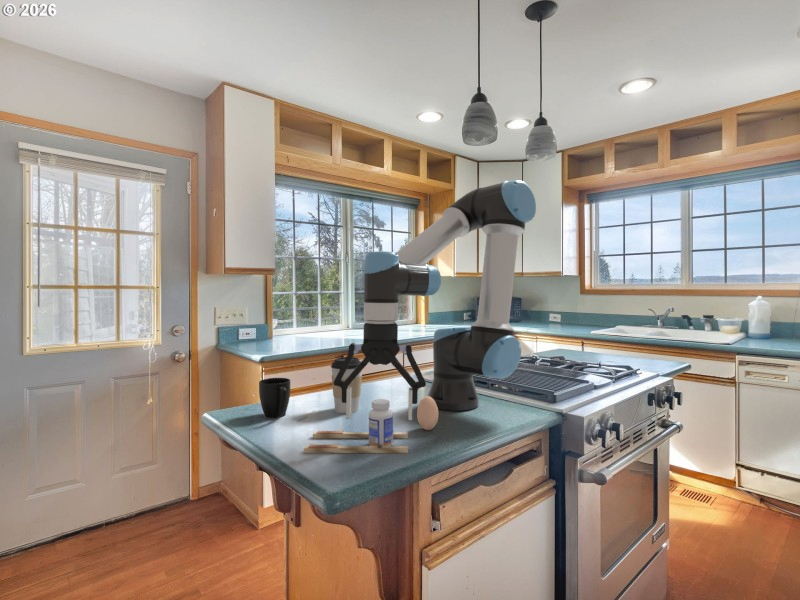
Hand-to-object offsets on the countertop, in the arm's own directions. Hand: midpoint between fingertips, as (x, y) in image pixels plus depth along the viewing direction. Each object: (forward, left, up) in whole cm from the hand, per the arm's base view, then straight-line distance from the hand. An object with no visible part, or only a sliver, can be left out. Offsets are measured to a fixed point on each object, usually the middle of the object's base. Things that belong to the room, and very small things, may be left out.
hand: (379, 418), depth 95 cm
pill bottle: (0, 0, -6) cm, 6 cm away
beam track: (+5, 0, -6) cm, 8 cm away
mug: (+29, -20, -6) cm, 36 cm away
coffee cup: (+11, -27, -6) cm, 30 cm away
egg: (-11, -10, -6) cm, 16 cm away
